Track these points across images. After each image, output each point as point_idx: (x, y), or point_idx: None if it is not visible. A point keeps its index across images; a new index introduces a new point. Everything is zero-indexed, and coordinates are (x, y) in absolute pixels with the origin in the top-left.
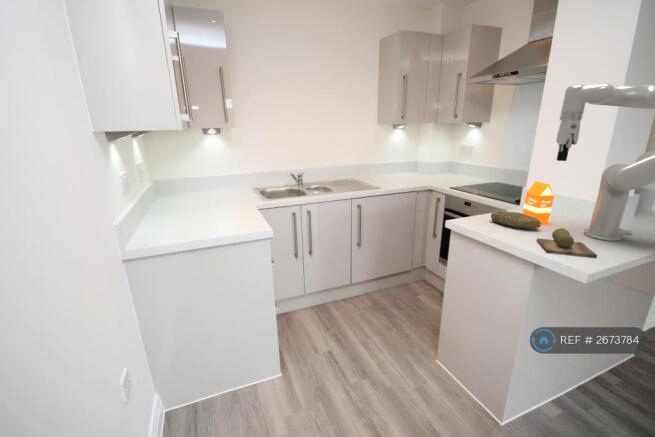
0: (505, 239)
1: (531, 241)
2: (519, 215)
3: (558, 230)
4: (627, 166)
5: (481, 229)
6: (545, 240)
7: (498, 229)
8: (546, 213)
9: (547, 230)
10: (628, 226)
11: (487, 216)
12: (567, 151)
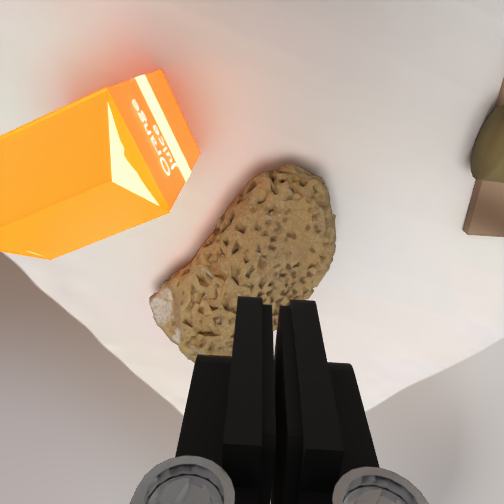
0: (451, 337)
1: (469, 250)
2: (264, 276)
3: None
4: None
5: None
6: (496, 209)
7: (323, 332)
8: (158, 101)
9: (292, 119)
10: None
11: (120, 333)
12: (398, 496)
